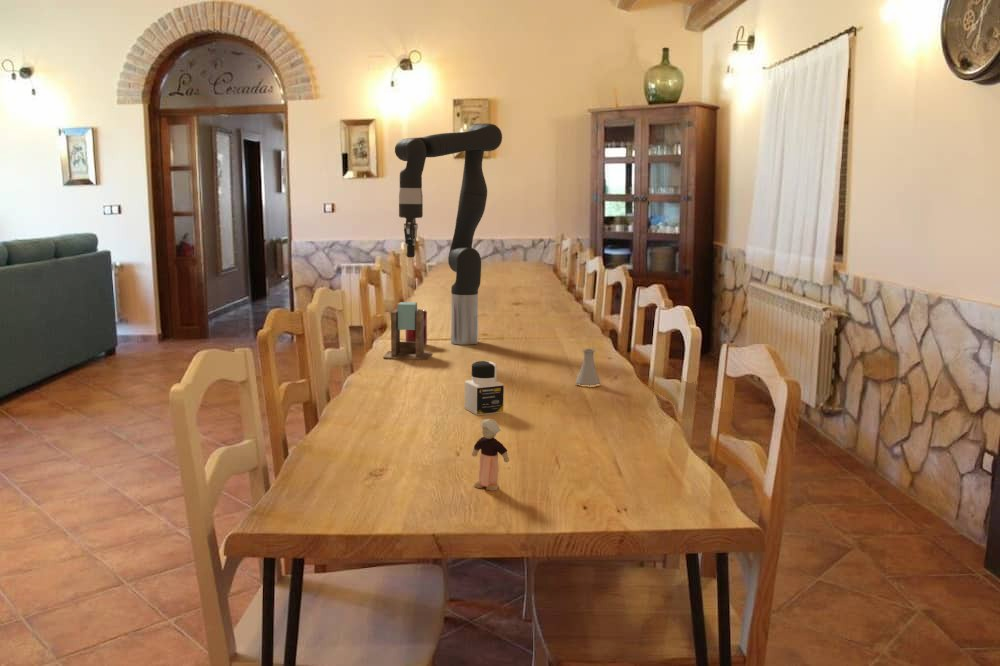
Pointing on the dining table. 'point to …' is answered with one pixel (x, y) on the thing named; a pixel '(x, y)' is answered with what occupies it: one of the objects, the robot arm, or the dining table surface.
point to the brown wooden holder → (407, 348)
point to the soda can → (412, 333)
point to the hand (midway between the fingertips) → (410, 256)
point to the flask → (588, 370)
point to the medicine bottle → (484, 390)
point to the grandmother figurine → (489, 455)
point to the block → (407, 315)
